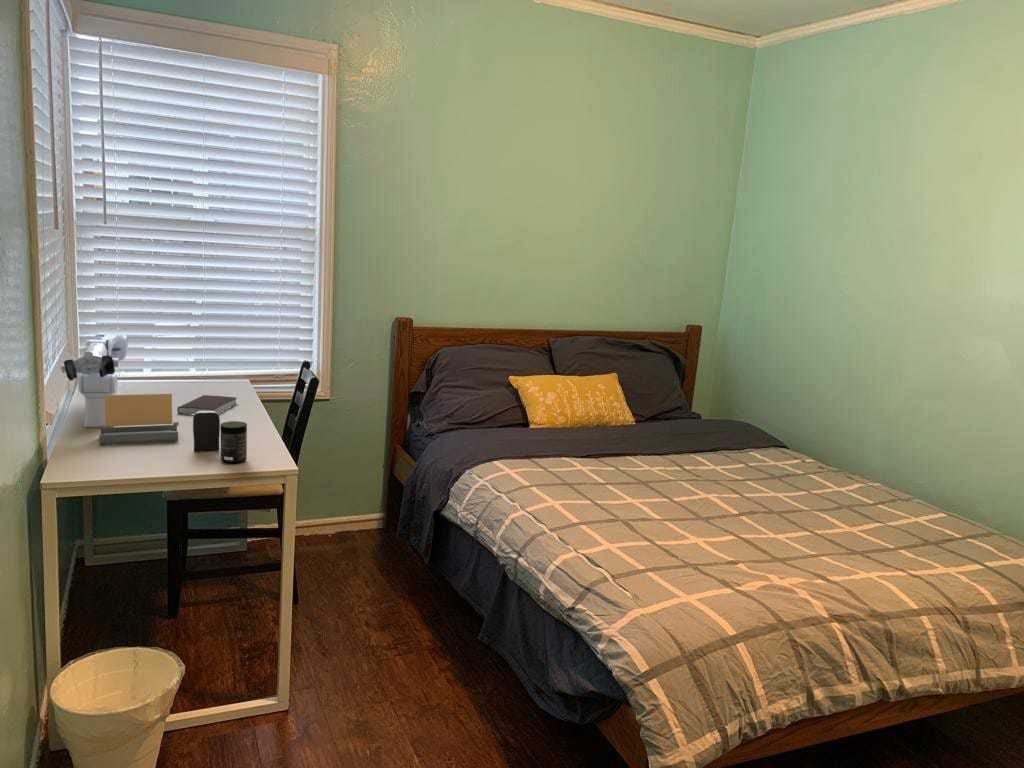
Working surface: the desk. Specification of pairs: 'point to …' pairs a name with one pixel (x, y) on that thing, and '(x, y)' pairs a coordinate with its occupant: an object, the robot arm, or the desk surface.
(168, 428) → the grey tray with rod
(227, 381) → the desk surface
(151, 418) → the cover
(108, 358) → the robot arm
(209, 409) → the book
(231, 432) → the supplement container
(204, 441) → the battery charger
